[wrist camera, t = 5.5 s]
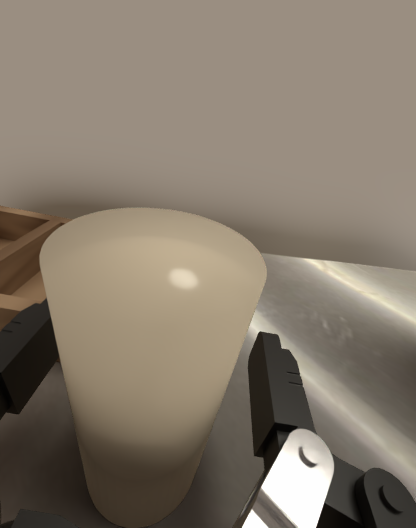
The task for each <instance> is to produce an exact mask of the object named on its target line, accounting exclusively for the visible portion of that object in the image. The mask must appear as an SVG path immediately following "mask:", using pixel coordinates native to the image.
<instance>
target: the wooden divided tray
mask: <svg viewBox="0 0 416 528" xmlns="http://www.w3.org/2000/svg"><path fill="white" fill-rule="evenodd" d="M70 221H72V219H67V218H61V217H56V216H51V215H46V214H41V213H35V212H30V211H25V210H20V209H15V208H9V207H4V206H0V332H1V330H2V328H3V327H5V326H6V325H7V324H8V323H10V322H11V320H12V319H13V318H14V317H15V316H16V315H17V314H18V313H19V312H20V311H22V310H23V309H25V308H27V307H29V306H31V305H33V304H34V303H39V304H41V303H42V302H43V301H44V300H45V299H46V298H47V296H46V291H45V287H44V282H43V277H42V273H41V268H40V256H39V255H40V252H41V248H42V246H43V244H44V242H45V241H46V239H47V238H48V237H49V236H50V235H51V234H52V233H53V232H54V231H55V230H57V229H58V228H59V227H61V226H62V225H64V224H66V223H68V222H70ZM57 362H61V361H60V356H59V358H58V359H57Z"/></svg>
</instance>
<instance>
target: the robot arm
mask: <svg viewBox="0 0 416 528" xmlns="http://www.w3.org/2000/svg"><path fill="white" fill-rule="evenodd" d="M58 358H59V352H58V347H57V342H56V338H55V333H54V328H53V324H52V319H51V315H50V310H49V305H48V301H47V298H46V299H45V300H44V301H43V302H42V303H41V304H39V303H34V304H33V305H31V306H29V307H27V308H25V309H23V310H22V311H20V312H19V313H18V314H17V315H16V316H15V317H14V318H13V319H12V320H11V322H10V323H8V324H7V325H6V326H5V327H3V328H2V330H1V332H0V420H1V418H2V417H3V416H4V414H5V413H6V412H7V413H13V414H19V413H20V412H21V411H22V409H23V408H24V406H25V405H26V403H27V402H28V401H29V399H30V398H31V396H32V395H33V393H34V392H35V391H36V389H37V388H38V386H39V385H40V383H41V382H42V381H43V379H44V378H45V376H46V375H47V373H48V372H49V371H50V369H51V368H52V366H53V365H54V363H55V362H56V361H57V359H58ZM248 375H249V390H250V404H251V419H252V433H253V448H254V456H257V457H263V458H264V468H265V470H264V471H263V473H262V475H261V477H260V478H259V480H258V482H257V484H256V486H255V487H254V489H253V491H252V493H251V495H250V496H249V498H248V500H247V502H246V504H245V505H244V507H243V509H242V511H241V513H240V514H239V516H238V518H237V520H236V522H235V523H234V525H233V527H232V528H416V503H415V501H414V499H413V497H412V496H411V494H410V493H409V491H408V490H407V489H406V487H405V486H404V485H403V484H402V483H401V482H400V481H399V480H398V479H397V478H396V477H395V476H393V475H392V474H390V473H389V472H387V471H385V470H383V469H380V468H372V469H369V470H368V471H367V472H366V473H365V472H363V471H361V470H359V469H358V468H356V467H354V466H352V465H350V464H348V463H346V462H345V461H343V460H341V459H339V458H338V457H336V456H335V455H333V454H332V453H331V452H330V450H329V449H328V447H327V445H326V444H325V443H324V441H323V440H322V439H321V438H320V437H319V436H318V435H317V433H316V431H315V428H314V424H313V421H312V417H311V413H310V409H309V406H308V402H307V398H306V394H305V391H304V387H303V383H302V379H301V376H300V372H299V368H298V364H297V361H296V360H295V358H294V357H293V355H292V354H291V352H290V351H289V350H287V349H282V348H281V344H280V339H279V336H278V335H277V334H271V333H266V332H259V333H258V336H257V338H256V341H255V343H254V345H253V348H252V350H251V353H250V356H249V361H248ZM0 528H79V527H77V526H76V525H74V524H73V523H71V522H70V521H68V520H66V519H65V518H63V517H62V516H60V515H55V514H49V513H43V512H37V511H30V510H24V509H20V511H19V513H18V515H17V517H16V519H15V520H13V521H10V522H7V523H4V524H1V503H0Z"/></svg>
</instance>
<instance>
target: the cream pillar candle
mask: <svg viewBox="0 0 416 528" xmlns="http://www.w3.org/2000/svg"><path fill="white" fill-rule="evenodd" d="M39 256H40V268H41V273H42V277H43V282H44V287H45V291H46V296H47V301H48V305H49V310H50V315H51V319H52V324H53V328H54V333H55V338H56V342H57V347H58V352H59V356H60V361H61V366H62V370H63V375H64V380H65V384H66V389H67V394H68V398H69V403H70V408H71V412H72V417H73V422H74V426H75V431H76V436H77V440H78V445H79V449H80V454H81V459H82V463H83V468H84V473H85V477H86V482H87V487H88V490H89V494H90V497H91V499H92V501H93V504H94V505H95V507H96V508H97V510H98V511H99V512H100V513H101V514H102V515H103V517H105V518H106V519H107V520H109V521H110V522H112V523H114V524H116V525H118V526H122V527H126V528H141V527H146V526H150V525H153V524H155V523H157V522H159V521H161V520H162V519H164V518H165V517H167V516H168V515H169V514H170V513H172V512H173V511H174V510H175V509H176V508H177V507H178V505H179V504H180V503H181V502H182V500H183V499H184V497H185V496H186V494H187V493H188V491H189V489H190V487H191V484H192V482H193V479H194V476H195V474H196V471H197V468H198V465H199V463H200V460H201V457H202V454H203V452H204V449H205V446H206V443H207V441H208V438H209V435H210V432H211V430H212V427H213V424H214V421H215V419H216V416H217V413H218V411H219V408H220V405H221V402H222V400H223V397H224V394H225V391H226V389H227V386H228V383H229V380H230V378H231V375H232V372H233V369H234V367H235V364H236V361H237V358H238V356H239V353H240V350H241V347H242V345H243V342H244V339H245V336H246V334H247V331H248V328H249V326H250V323H251V320H252V317H253V315H254V312H255V309H256V306H257V304H258V301H259V298H260V295H261V293H262V290H263V287H264V284H265V282H266V275H267V271H266V265H265V262H264V259H263V258H262V256H261V254H260V252H259V251H258V250H257V249H256V247H255V246H254V245H253V244H252V243H251V242H249V241H248V240H247V239H246V238H245V237H243V236H242V235H240V234H239V233H237V232H236V231H234V230H232V229H230V228H229V227H227V226H224V225H222V224H220V223H218V222H215V221H213V220H210V219H207V218H204V217H201V216H198V215H194V214H190V213H185V212H180V211H174V210H167V209H159V208H122V209H121V208H120V209H111V210H105V211H100V212H95V213H92V214H88V215H85V216H82V217H79V218H76V219H74V220H72V221H70V222H68V223H66V224H64V225H62V226H61V227H59V228H58V229H57V230H55V231H54V232H53V233H52V234H51V235H50V236H49V237H48V238H47V239H46V241H45V242H44V244H43V246H42V248H41V252H40V255H39Z"/></svg>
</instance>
